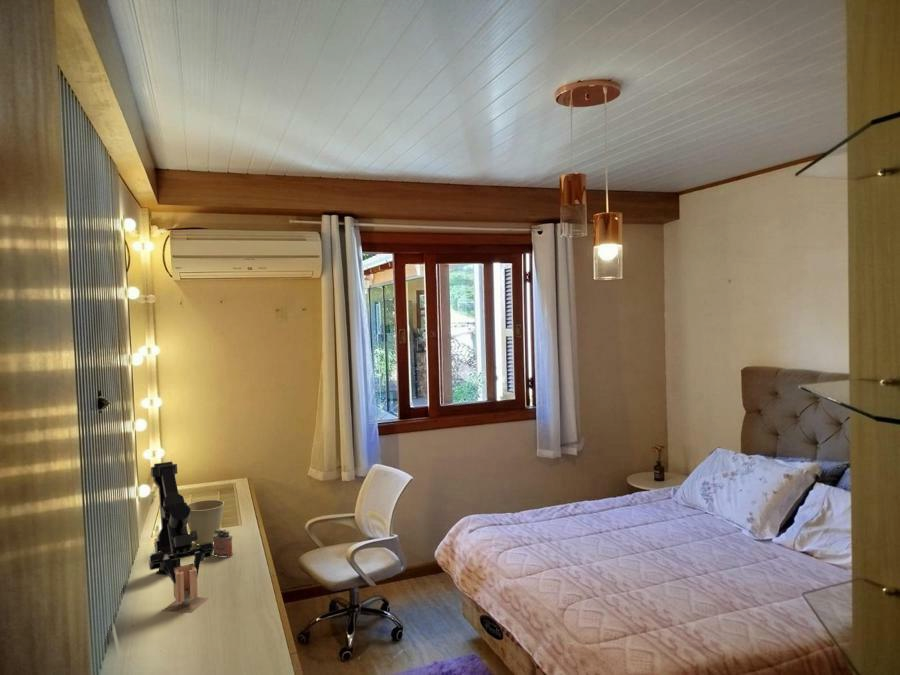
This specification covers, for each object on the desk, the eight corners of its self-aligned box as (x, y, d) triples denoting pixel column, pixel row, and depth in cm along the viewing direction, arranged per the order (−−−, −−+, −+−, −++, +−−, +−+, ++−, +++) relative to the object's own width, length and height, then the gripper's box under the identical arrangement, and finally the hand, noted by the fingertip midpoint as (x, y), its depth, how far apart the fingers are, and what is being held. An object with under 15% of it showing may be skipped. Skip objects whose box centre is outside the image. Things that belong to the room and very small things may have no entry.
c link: (173, 595, 193) (172, 568, 193) (193, 590, 197) (193, 563, 196) (177, 603, 188) (176, 574, 188) (197, 597, 192) (196, 569, 191)
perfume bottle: (234, 554, 235) (234, 529, 235) (229, 557, 232) (228, 532, 232) (217, 552, 237) (216, 527, 237) (211, 556, 234) (210, 530, 234)
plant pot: (216, 550, 240) (215, 510, 240) (179, 550, 241) (178, 510, 240) (230, 536, 255) (229, 499, 255) (196, 537, 256) (194, 499, 255)
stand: (161, 613, 188) (161, 596, 188) (181, 598, 198) (180, 582, 198) (191, 615, 187) (190, 598, 187) (209, 600, 197) (208, 584, 196)
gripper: (149, 529, 190) (155, 576, 181) (211, 517, 200) (220, 561, 191) (146, 546, 197) (152, 592, 188) (207, 534, 207) (215, 577, 198)
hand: (185, 580), depth 191 cm, fingers closed on c link, 6 cm apart
